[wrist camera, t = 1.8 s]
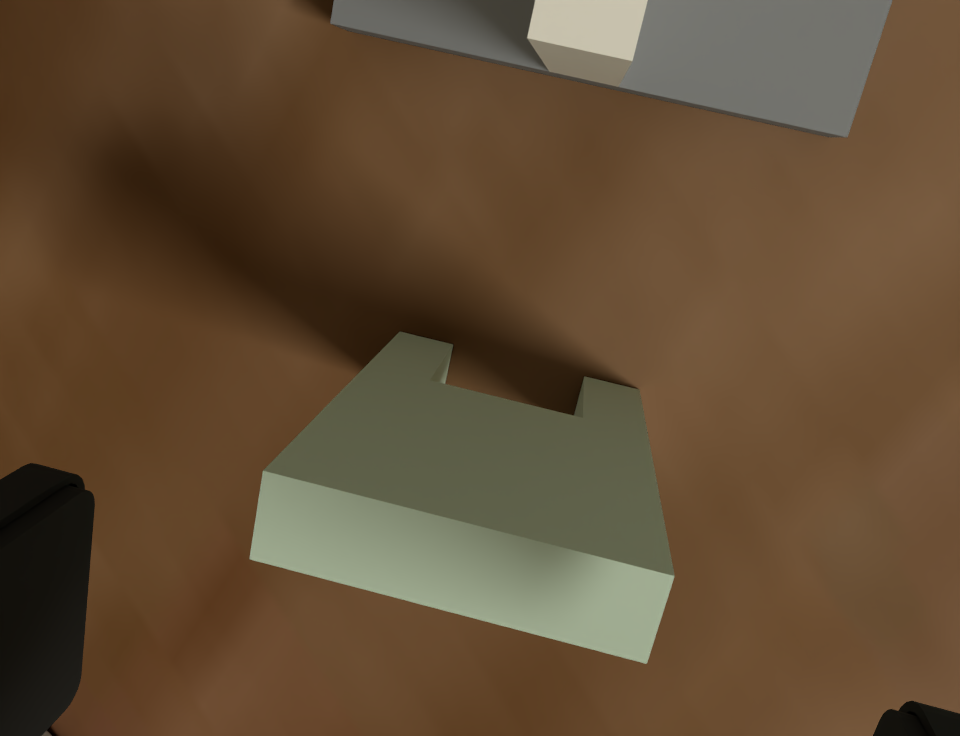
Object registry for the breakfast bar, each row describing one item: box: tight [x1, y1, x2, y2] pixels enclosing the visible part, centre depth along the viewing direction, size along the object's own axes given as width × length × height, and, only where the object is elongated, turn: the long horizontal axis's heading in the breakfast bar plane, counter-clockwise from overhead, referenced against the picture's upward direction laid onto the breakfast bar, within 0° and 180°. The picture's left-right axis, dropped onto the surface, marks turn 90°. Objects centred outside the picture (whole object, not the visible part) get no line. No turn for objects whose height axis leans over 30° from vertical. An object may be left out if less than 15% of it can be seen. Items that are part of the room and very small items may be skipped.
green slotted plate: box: [250, 332, 674, 664], centre depth 18 cm, size 7×2×10 cm, turn 78°
